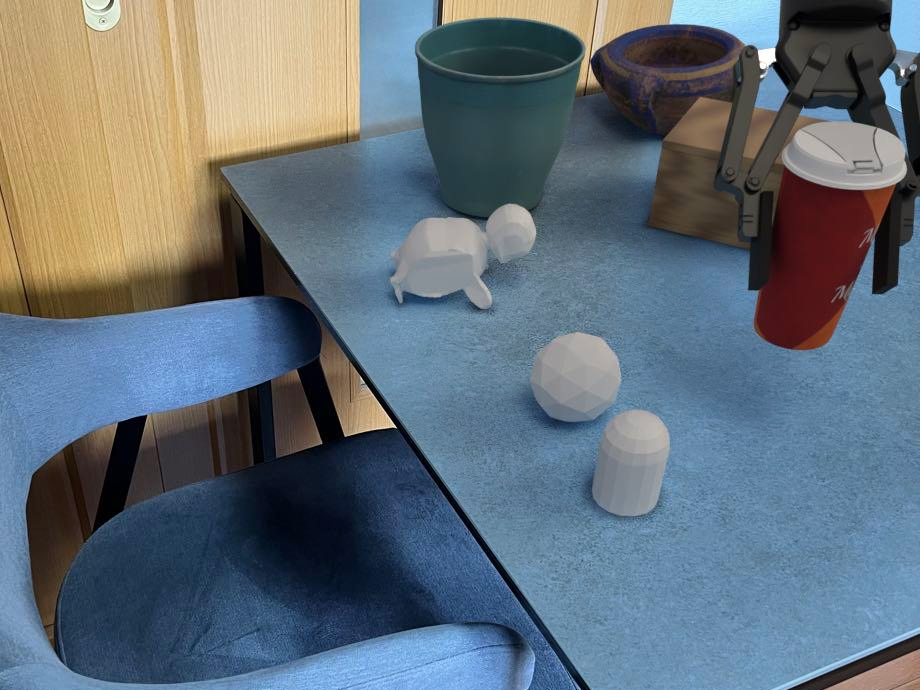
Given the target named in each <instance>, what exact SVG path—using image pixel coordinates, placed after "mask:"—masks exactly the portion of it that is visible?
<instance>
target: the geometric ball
mask: <svg viewBox="0 0 920 690" xmlns="http://www.w3.org/2000/svg"><path fill="white" fill-rule="evenodd" d="M619 362H620V361H619V357H618V355H617V354H616V353H615V352H614V351H613V349H611V347H610V346H609V345H608V344H607V342H606V341H605V340H604V338H602V336H601V337H600V336H597V335H592V334H587V333H583V332H579V331H576V332H571V333H567V334H562V335H558V336H555V338H553V339H552V340H551V341H549V342H548V343H547V344H546V345H545V346H544V347H543V348H541V349H540V350H538V352H536V353H535V357H534V360H533V365H532V370H531V373H530V377H529V383H530V386H531V389H532V393H533V395H534V399H535V400H536V402H537V403H538V404H539V406H540V407H541V409H543V411H544V412H545V413H546V414H547V415H548V416H549V417H550V418H552V419H555V420H558V421H563V422H566V423H567V422H569V423H578V422H587V421H595V420H596V419H597V418H598V417H599V416H600V415H601V414H603V413H604V412H605V411H607V410H608V409H609V408H610V407H611V406H612V405H614V404H615V403H616V401H617V397H618V394H619V390H620V386H621V384H622V373H621V367H620V363H619Z"/></svg>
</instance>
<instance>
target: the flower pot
mask: <svg viewBox="0 0 920 690" xmlns="http://www.w3.org/2000/svg"><path fill="white" fill-rule="evenodd" d="M586 50H587V48H586V44H585V42H584V41H583V40H582V38H581V37H579V35H577V34H575V32H572V31H570V30H569V29H566V28H564V27H561V26H559V25H556V24H552V23H549V22H545V21H539V20H534V19H529V18H520V17H519V18H518V17H502V16H501V17H499V16H498V17H496V16H495V17H494V16H493V17H491V16H490V17H476V18H475V17H474V18H467V19H461V20H456V21H455V20H454V21H450V22H448V23H447V22H446V23H444V24H443V23H442V24H441V25H438V26H435V27H433V28H430V29H429V30H427V31H425V32H424V33H422V34H421V35H420V36H419V37H418V38H417V40H416V41H415V44H414V54H415V58H417V61H416V63H417V75H418V76H417V77H418V82H419V95H420V96H419V97H420V109H421V118H422V125H423V131H424V135H425V139H426V142H427V146H428V149H429V152H430V155H431V158H432V160H433V164H434V167H435V170H436V174H437V178H438V181H439V195H440V197H441V199H442V201H443V202H444V203H445V204H446V205H447V206H448V207H450V208H452V209H453V210H454V211H457V212H459V213H462V214H466V215H469V216H474V217H480V218H482V217H483V218H490V216H491V215H492V213H493V212H495V210H497V209H498V208H500V207H501V206H503V205H506V204H517V205H518V206H521V207H523V208H525V209H526V210H527V211H528V212H529V211H530V210H532V209H534V208H535V207H536V206H538V205H539V204H540V202H541V201H542V199H543V196H544V188H545V184H546V182H547V179H548V177H549V175H550V172H551V170H552V168H553V166H554V164H555V162H556V159H557V157H558V155H559V153H560V150H561V148H562V146H563V144H564V141H565V139H566V135H567V132H568V129H569V126H570V121H571V117H572V114H573V107H574V102H575V99H576V92H577V86H578V83H579V80H580V74H581V70H582V69H581V68H582V63H583V61H584V59H585V56H586Z"/></svg>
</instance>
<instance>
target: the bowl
mask: <svg viewBox="0 0 920 690" xmlns="http://www.w3.org/2000/svg"><path fill="white" fill-rule="evenodd" d="M745 46H746V44H745V43H744V42H743V41H742V40H741V39H739V38H738V37H737V36H735V35H734V34H732V33H730V32H728V31H725V30H723V29H720V28H717V27H716V28H715V27H712V26H708V25H707V26H706V25H699V24H689V23H688V24H686V23H671V24H655V25H650V26H645V27H640V28H637V29H634V30H629V31H627V32H625V33H622V34H621V35H619V36H617V37H615V38H613V39H612V40H610V41H609V42H607V43H606V44H605V45H602V46H600V47H599V48H597V49H596V50H595V52H594V53H593V55H592V57H591V58H590V60H589V64H590V69H591V71H592V74H593V76H594V78H595V80H596V82H597V83H598V84H599V86H600V87H601V89H602V90H603V91H604V92H605V94H606V96H607V98H608V100H609V102H610V104H611V105H612V106H613V107H614V108H615V110H617V112H618V113H619V114H620V115H622V116H623V117H624V118H625V119H627V120H628V121H630V122H631V123H632V124H633V125H635V126H636V127H637V128H638V129H640V130H642V131H643V132H644V131H645V132H647V133H651V134H653V135H658V136H665V137H666V136H667V135H668V134H669V133H670V131H671V130H672V129H673V128H674V127H675V126H676V124H677V123H678V122H679V121H680V120H681V119H682V117H683V116H684V115H685V114H686V113H687V112H688V110H689V109H690V108H691V107H692V106H693V105H694V103H695V102H696V101H697V100H698V99H699V98H700V97H703V98H709V99H714V100H719V101H725V102H730V103H733V99H734V95H735V86H734V78H733V65H734V63H735V62H736V60H737V58H738V56H739V54H740V53H741V51H742V49H743V48H744V47H745Z"/></svg>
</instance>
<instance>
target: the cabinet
mask: <svg viewBox="0 0 920 690" xmlns="http://www.w3.org/2000/svg"><path fill="white" fill-rule="evenodd" d="M731 107H732V103H730V102H725V101H719V100H714V99H709V98H703V97H700V98H699V99H698V100H697V101H696V102H695V103H694V105H693V106H692V107H691V108H690V109H689V110H688V112H687V113H686V114H685V115H684V116H683V117H682V119H681V120H680V121H679V122H678V123H677V124H676V126H675V127H674V128H673V129H672V130H671V131H670V133H669V134H668V135H667V136H665V137H664V138H663V139H662V143H661V149H660V154H659V161H658V165H657V172H656V177H655V183H654V187H653V188H654V189H653V194H652V199H651V206H650V210H649V216H648V222H647V226H648V227H653V228H656V229H660V230H665V231H669V232H673V233H678V234H682V235H685V236H691V237H695V238H699V239H702V240H707V241H712V242H715V243H720V244H724V245H728V246H732V247H735V248H736V247H737V248H741V249H745V250H749V251H750V242H739V239H738V237H737V228H738V207H739V203H737V202H736V200H735V195H733V194H732V193H729V192H726V191H724V192H719V191H717V190H716V189H715V188H714V186H713V183H714V178H715V174H716V170H717V166H718V161H719V157H720V153H721V149H722V145H723V141H724V137H725V132H726V128H727V124H728V120H729V116H730V112H731ZM778 111H779V110H773V109H766V108H762V107H757V106H755V107H754V111H753V115H752V119H751V123H750V127H749V132H748V136H747V140H746V144H745V148H744V152H743V156H742V161H741V165H740V169H739V170H740V171H743V172H746V173H747V172H748V170H749V168H750V166H751V164H752V162H753V160H754V159H755V157H756V155H757V153H758V151H759V149H760V147H761V145H762V143H763V141H764V139H765V137H766V135H767V133H768V131H769V129H770V128H771V126H772V124H773V122H774V120H775V118H776V116H777V113H778ZM820 122H832V120H827V119H823V118H822V119H821V118H815V117H812V116H811V117H810V116H805V115H800V114H799V116H798V118H797V120H796V122H795V124H794V126H793V128H792V130H791V132H790V134H789V135H788V137H787V139H786V141H785V143H784V145H783V147H782V149H781V151H780V153H779V155H778V157H777V159H776V161H775V163H774V164H773V166H772V168H771V170H770V172H769V174H768V176H767V178H766V180H765V182H764V184H763V186H762V187H761V193H762V191H774V195H773V215H772V224H773V219H774V214H775V209H776V204H777V200H778V195H779V190H780V185H781V180H782V175H783V170H784V163H783V161H782V152H783V150H784V149H785V147H786V146H787V145H788V144H790V143H791V141H792V139H793V137H794V135H795V134H796V132H797V131H798V130H800V129H802V128H804V127H806V126H809V125H811V124H815V123H820Z"/></svg>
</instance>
